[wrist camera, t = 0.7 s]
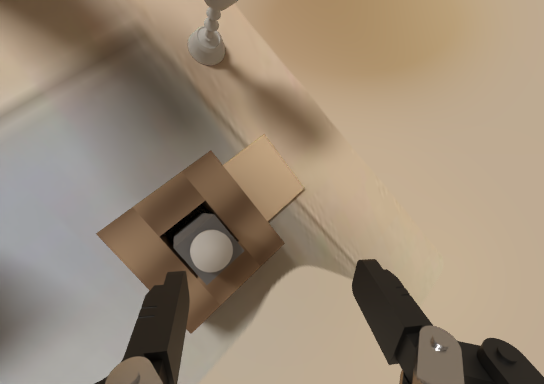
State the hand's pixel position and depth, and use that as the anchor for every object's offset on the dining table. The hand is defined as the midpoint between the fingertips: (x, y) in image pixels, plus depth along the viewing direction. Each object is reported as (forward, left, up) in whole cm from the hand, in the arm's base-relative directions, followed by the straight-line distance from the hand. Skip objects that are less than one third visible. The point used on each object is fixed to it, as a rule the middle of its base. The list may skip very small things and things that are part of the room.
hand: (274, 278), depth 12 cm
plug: (-1, -1, -24) cm, 24 cm away
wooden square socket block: (-1, -1, -24) cm, 24 cm away
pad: (-1, +11, -24) cm, 27 cm away
